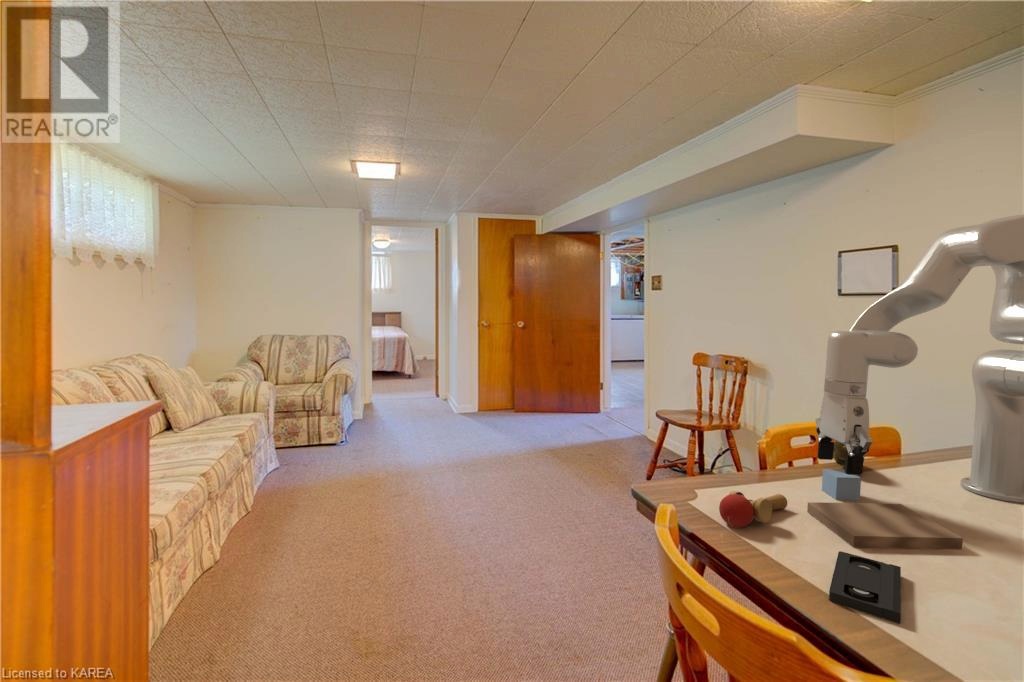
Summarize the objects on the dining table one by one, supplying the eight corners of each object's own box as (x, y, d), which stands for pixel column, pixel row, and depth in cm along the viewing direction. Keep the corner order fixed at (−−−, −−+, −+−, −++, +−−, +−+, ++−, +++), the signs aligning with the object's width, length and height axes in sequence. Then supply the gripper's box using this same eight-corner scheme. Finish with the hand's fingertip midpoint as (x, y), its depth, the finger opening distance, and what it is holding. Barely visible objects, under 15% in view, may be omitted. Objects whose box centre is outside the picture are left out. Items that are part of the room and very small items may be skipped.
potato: (875, 468, 122) (876, 437, 122) (856, 479, 115) (858, 446, 114) (837, 460, 129) (839, 430, 128) (817, 470, 121) (819, 438, 121)
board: (899, 513, 96) (900, 503, 96) (962, 549, 82) (962, 538, 82) (807, 512, 97) (807, 502, 97) (853, 547, 83) (853, 536, 83)
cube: (844, 491, 108) (845, 469, 107) (859, 500, 103) (861, 477, 102) (821, 491, 108) (822, 469, 108) (835, 500, 103) (836, 477, 103)
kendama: (757, 506, 103) (704, 514, 93) (765, 479, 102) (713, 484, 92) (792, 527, 97) (740, 538, 87) (802, 498, 96) (750, 506, 86)
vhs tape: (838, 562, 79) (838, 550, 79) (899, 579, 74) (900, 566, 74) (828, 604, 68) (829, 591, 68) (899, 628, 63) (900, 613, 63)
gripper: (892, 397, 95) (885, 481, 96) (837, 382, 112) (831, 454, 113) (853, 395, 95) (846, 480, 96) (804, 381, 112) (799, 453, 114)
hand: (838, 466), depth 105 cm, fingers open, 9 cm apart
